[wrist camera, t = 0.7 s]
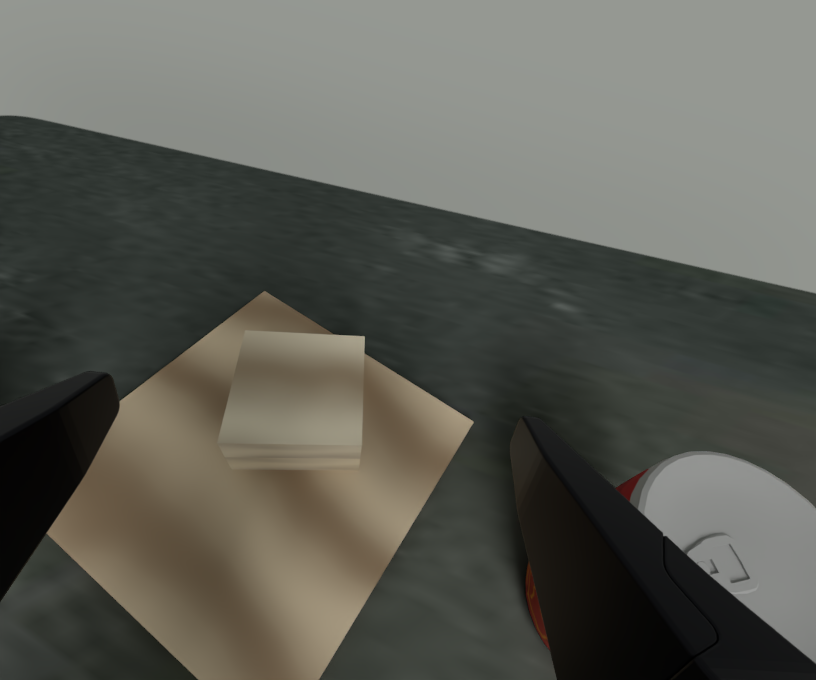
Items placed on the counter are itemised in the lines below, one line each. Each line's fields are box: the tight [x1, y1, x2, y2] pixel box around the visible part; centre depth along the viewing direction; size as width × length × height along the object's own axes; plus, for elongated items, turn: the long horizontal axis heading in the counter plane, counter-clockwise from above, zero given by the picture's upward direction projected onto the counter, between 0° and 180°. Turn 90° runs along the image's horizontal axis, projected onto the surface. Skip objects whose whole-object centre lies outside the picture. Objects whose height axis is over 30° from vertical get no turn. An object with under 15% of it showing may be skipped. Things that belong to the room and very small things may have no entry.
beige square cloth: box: [47, 291, 474, 680], centre depth 24 cm, size 18×18×1 cm
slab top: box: [217, 330, 365, 459], centre depth 23 cm, size 7×7×2 cm
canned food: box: [525, 451, 816, 663], centre depth 18 cm, size 8×8×11 cm
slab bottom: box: [225, 457, 360, 471], centre depth 25 cm, size 7×7×2 cm
